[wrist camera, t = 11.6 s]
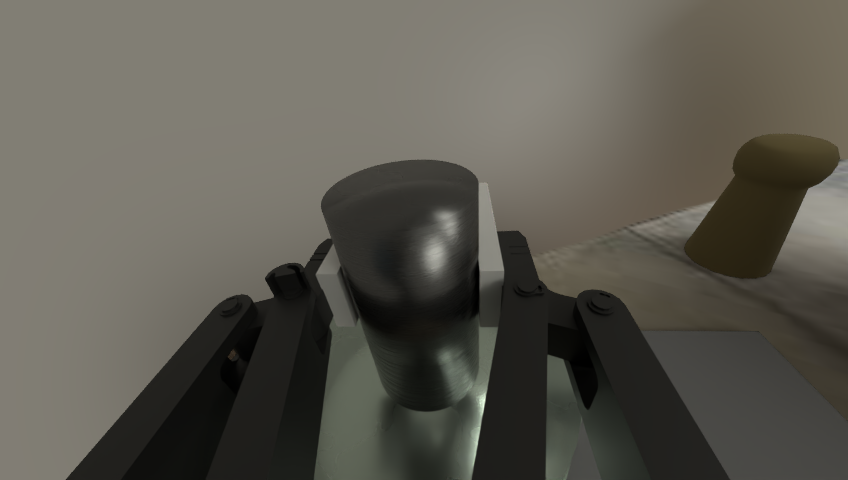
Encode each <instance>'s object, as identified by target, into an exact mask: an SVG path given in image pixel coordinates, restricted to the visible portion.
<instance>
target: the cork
mask: <svg viewBox="0 0 848 480" xmlns="http://www.w3.org/2000/svg"><path fill="white" fill-rule="evenodd" d="M839 159H840V156H839V152H838V148H837V146H835V145H834V144H832V143H830V142H828V141H826V140H823V139H820V138H815V137H811V136H804V135H796V134H768V135H762V136H759V137H755V138H753V139H751V140H750V141H749V142H747V143H745V144H744V145H743V146H742V147H741V148H740V149H739V150H738V152H737V154H736V157H735V159H734V162H733V171H734V174H735V176H734V178H733V179H732V181H731V182H730V184H729V185H728V186H727V188H726V189H725V190H724V192H723V193H722V194H721V196H720V197H719V199H718V200H717V201H716V203H715V204H714V205H713V207H712V208H711V210H710V211H709V212H708V214H707V215H706V217H705V218H704V219H703V221H702V222H701V223H700V225H699V226H698V228H697V229H696V230H695V232H694V233H693V234H692V236H691V237H690V239H689V240H688V241H687V243H686V245H685V247H684V249H685V252H686V254H687V255H688V256H689V257H690V258H691V259H692V260H693V261H694V262H696V263H697V264H699V265H701V266H702V267H705V268H707V269H709V270H711V271H713V272H717V273H720V274H723V275H727V276H732V277H738V278H759V277H764V276H766V275H767V274H768V273H770V272H771V269H772V267H773V265H774V263H775V261H776V258H777V256H778V254H779V252H780V250H781V247H782V245H783V243H784V241H785V239H786V236H787V234H788V232H789V230H790V228H791V225H792V223H793V221H794V219H795V217H796V214H797V212H798V210H799V208H800V206H801V203H802V201H803V199H804V197H805V195H806V192H807V190H808V188H810V187H813V186H815V185H817V184H819V183H821V182H822V181H823V180H825V179H826V178H827V177H828V176H829V175H831V174H832V172H833V171H834V170H835V168H836V167H837V166H838V162H839Z"/></svg>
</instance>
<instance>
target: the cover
mask: <svg viewBox="0 0 848 480" xmlns="http://www.w3.org/2000/svg"><path fill="white" fill-rule="evenodd" d="M321 209H322V212H323V215H324V218H325V221H326V224H327V227H328V230H329V233H330V236H331V239H332V241H333V244H334V247H335V250H336V253H337V256H338V259H339V262H340V265H341V268H342V270H343V273H344V276H345V279H346V282H347V285H348V288H349V291H350V294H351V297H352V299H353V302H354V305H355V308H356V311H357V314H358V317H359V318H358V321H357V324H356V327H337V325H336V323H335V320H334V318H333V319H332V321H331V323H330V329H331V331H332V340H331V348H330V356H329V364H328V372H327V380H326V387H325V395H324V403H323V411H322V419H321V427H320V435H319V442H318V450H317V458H316V466H315V474H314V480H471V479H472V473H473V467H474V462H475V456H476V450H477V444H478V439H479V433H480V427H481V422H482V416H483V410H484V405H485V399H486V393H487V387H488V382H489V376H490V370H491V365H492V359H493V353H494V347H495V342H496V336H497V330H498V327H480V324H479V285H478V256H479V183H478V180H477V178H476V176H475V175H474V174H473V173H472V172H471V171H469V170H468V169H466V168H464V167H462V166H460V165H457V164H453V163H449V162H443V161H436V160H408V161H398V162H391V163H386V164H382V165H377V166H374V167H370V168H367V169H364V170H362V171H359V172H356V173H354V174H352V175H350V176H348V177H346V178H344V179H342V180H341V181H339V182H338V183H336V184H335V185H333V186H332V187H331V188H330V189H329V190H328V191H327V192H326V194H325V195H324V197H323V199H322V202H321ZM581 422H582V417H581V414H580V411H579V408H578V404H577V401H576V398H575V395H574V392H573V389H572V385H571V382H570V379H569V376H568V373H567V370H566V366H565V363H564V360H563V359H561V358H557V357H554V356H551V355H548V356H547V422H546V480H566V479H567V475H568V471H569V467H570V463H571V460H572V457H573V455H574V452H575V449H576V446H577V442H578V436H579V431H580V426H581Z"/></svg>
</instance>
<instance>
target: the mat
mask: <svg viewBox="0 0 848 480" xmlns="http://www.w3.org/2000/svg"><path fill="white" fill-rule="evenodd" d="M641 332H642V334H643V335H644V337H645V339H646V340H647V342H648V344H649V345H650V347H651V349H652V350H653V352H654V354H655V355H656V357H657V359H658V360H659V362H660V364H661V365H662V367H663V369H664V370H665V372H666V374H667V375H668V377H669V379H670V380H671V382H672V384H673V385H674V387H675V389H676V390H677V392H678V394H679V395H680V397H681V399H682V400H683V402H684V404H685V405H686V407H687V409H688V410H689V412H690V414H691V415H692V417H693V419H694V420H695V422H696V424H697V425H698V427H699V429H700V430H701V432H702V434H703V435H704V437H705V439H706V440H707V442H708V444H709V445H710V447H711V448H712V450H713V452H714V453H715V455H716V457H717V458H718V460H719V462H720V463H721V465H722V467H723V468H724V470H725V472H726V473H727V475H728V477H729V478H730V480H848V421H847V420H846V419H845V418H844V417H843V416H842V415H841V414H840V413H839V412H838V411H837V410H836V409H835V408H834V407H833V406H832V405H831V404H830V403H829V402H828V401H827V400H826V399H825V398H824V397H823V396H822V395H821V394H820V393H819V392H818V391H817V390H816V389H815V388H814V387H813V386H812V385H811V384H810V383H809V382H808V381H807V380H806V379H805V378H804V377H803V376H802V375H801V374H800V373H799V372H798V371H797V370H796V369H795V368H794V367H793V366H792V365H791V364H790V363H789V362H788V361H787V360H786V359H785V358H784V357H783V356H782V355H781V354H780V353H779V352H778V351H777V350H776V349H775V348H774V347H773V346H772V345H771V344H770V343H769V342H768V341H767V339H766V338H765V337H764V336H763V335H762V334H761V333H760V332H759V331H641ZM566 480H601V477H600V474H599V471H598V468H597V464H596V461H595V458H594V455H593V452H592V449H591V445H590V442H589V439H588V436H587V433H586V430H585V426H584V423H583V420H582V422H581V426H580V431H579V436H578V442H577V446H576V449H575V452H574V455H573V457H572V460H571V463H570V467H569V471H568V475H567V479H566Z"/></svg>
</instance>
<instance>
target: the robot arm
mask: <svg viewBox="0 0 848 480" xmlns="http://www.w3.org/2000/svg"><path fill="white" fill-rule="evenodd" d="M265 280H266V282H267V284H268V285H269V287H270V289H271V291H272V293H273V294H274V298H271V299H267V300H263V301H259V302H255V303H254V302H253V301H252V299H251V298H250V297H249V296H248V295H242V294H241V295H236V296H232V297H230V298H227V299H226V300H224V301H222V302H221V303H219V304H218V305H217V306H216V307H215V308H214V309H213V310H212V311H211V313H210V314H209V315H208V316H207V317H206V318H205V319H204V321H203V322H202V323H201V324H200V325H199V326H198V327H197V329H196V330H195V331H194V332H193V333H192V334H191V336H190V337H189V338H188V339H187V340H186V341H185V343H184V344H183V345H182V346H181V347H180V348H179V349H178V351H177V352H176V353H175V354H174V355H173V356H172V358H171V359H170V360H169V361H168V363H166V365H165V366H164V367H163V368H162V369H161V370H160V372H159V373H158V374H157V375H156V376H155V377H154V378H153V380H152V381H151V382H150V383H149V384H148V385H147V387H146V388H145V389H144V390H143V391H142V392H141V393H140V395H139V396H138V397H137V398H136V399H135V400H134V401H133V403H132V404H131V405H130V406H129V407H128V408H127V410H126V411H125V412H124V413H123V414H122V415H121V416H120V418H119V419H118V420H117V421H116V422H115V423H114V425H113V426H112V427H111V428H110V429H109V430H108V431H107V433H106V434H105V435H104V436H103V437H102V438H101V440H100V441H99V442H98V443H97V444H96V445H95V447H94V448H93V449H92V450H91V451H90V452H89V453H88V455H87V456H86V457H85V458H84V459H83V461H81V463H80V464H79V465H78V466H77V467H76V468H75V470H74V471H73V472H72V473H71V474H70V475H69V477H68V478H67V479H66V480H314V474H315V466H316V458H317V450H318V442H319V435H320V427H321V419H322V411H323V403H324V395H325V387H326V380H327V372H328V364H329V356H330V348H331V340H332V331H331V329H330V323H331V321H332V319H333V318H334V320H335V323H336V325H337V327H356V324H357V321H358V318H359V317H358V314H357V311H356V308H355V305H354V302H353V299H352V297H351V294H350V291H349V288H348V285H347V282H346V279H345V276H344V273H343V270H342V268H341V265H340V262H339V259H338V256H337V253H336V250H335V247H334V244H333V241H332V239H327V240H325V241H324V242H323V243H321V244H320V245H319V246H318V248H317V249H316V251H315V252H314V255H312V257H311V259H310V261H309V262H308V263H307V265H306V267H305V268H303V266H302V265H301V264H298V263H288V264H284V265H281V266H279V267H277V268H275V269H273V270H272V271H271V272H270V273H268V275H267V276H266V277H265ZM478 285H479V324H480V327H498V330H497V336H496V342H495V347H494V353H493V359H492V365H491V370H490V376H489V382H488V387H487V393H486V399H485V405H484V410H483V416H482V422H481V427H480V433H479V439H478V444H477V450H476V456H475V462H474V467H473V473H472V479H471V480H546V422H547V356H548V355H551V356H554V357H557V358H561V359H563V360H564V363H565V366H566V370H567V373H568V376H569V379H570V382H571V385H572V389H573V392H574V395H575V398H576V401H577V404H578V408H579V411H580V414H581V417H582V420H583V423H584V426H585V430H586V433H587V436H588V439H589V442H590V445H591V449H592V452H593V455H594V458H595V461H596V464H597V468H598V471H599V474H600V477H601V480H730V478H729V477H728V475H727V473H726V472H725V470H724V468H723V467H722V465H721V463H720V462H719V460H718V458H717V457H716V455H715V453H714V452H713V450H712V448H711V447H710V445H709V444H708V442H707V440H706V439H705V437H704V435H703V434H702V432H701V430H700V429H699V427H698V425H697V424H696V422H695V420H694V419H693V417H692V415H691V414H690V412H689V410H688V409H687V407H686V405H685V404H684V402H683V400H682V399H681V397H680V395H679V394H678V392H677V390H676V389H675V387H674V385H673V384H672V382H671V380H670V379H669V377H668V375H667V374H666V372H665V370H664V369H663V367H662V365H661V364H660V362H659V360H658V359H657V357H656V355H655V354H654V352H653V350H652V349H651V347H650V345H649V344H648V342H647V340H646V339H645V337H644V335H643V334H642V332H641V330H640V329H639V327H638V326H637V324H636V322H635V321H634V319H633V317H632V316H631V314H630V312H629V311H628V309H627V307H626V306H625V304H624V303H623V302H622V301H621V300H620V299H619V298H617V297H616V296H614V295H613V294H610V293H608V292H605V291H602V290H586V291H583V292H582V293H580V294H579V295H578V297H577V298H573V297H569V296H564V295H560V294H557V293H554V292H552V291H550V290H549V289H547V286H546V285H545V284H544V283H543V282H542V281H540V280H539V278H538V275H537V272H536V269H535V265H534V262H533V259H532V256H531V254H530V250H529V248H528V244H527V241H526V238H525V237H524V236H523V235H522V234H521V233H520V232H519V231H504V232H503V231H501V232H497V231H496V225H495V220H494V215H493V209H492V204H491V199H490V194H489V189H488V183H479V256H478ZM232 349H234V351H235V352H236V353H237V354H236V355H235V357H234V358H233V359H232V360H230V359H229V358H228V357H227V356H228V355H229V354H230V352H231V351H232Z"/></svg>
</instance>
